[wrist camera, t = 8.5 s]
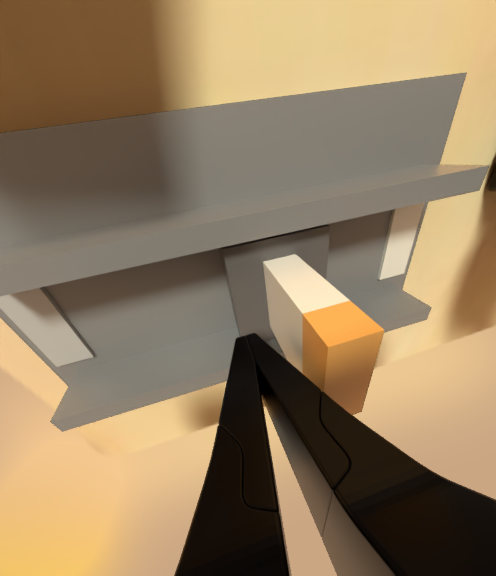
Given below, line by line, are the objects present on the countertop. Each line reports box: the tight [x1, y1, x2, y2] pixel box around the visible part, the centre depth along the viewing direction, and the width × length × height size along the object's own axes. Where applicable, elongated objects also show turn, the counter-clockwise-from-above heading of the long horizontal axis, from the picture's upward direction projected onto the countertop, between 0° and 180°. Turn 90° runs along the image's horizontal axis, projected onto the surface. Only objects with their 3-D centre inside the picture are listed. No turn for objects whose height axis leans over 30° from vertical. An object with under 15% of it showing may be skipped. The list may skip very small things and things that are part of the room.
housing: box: [0, 73, 490, 431], centre depth 12 cm, size 24×16×4 cm, turn 98°
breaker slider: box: [220, 224, 384, 415], centre depth 10 cm, size 5×6×7 cm
